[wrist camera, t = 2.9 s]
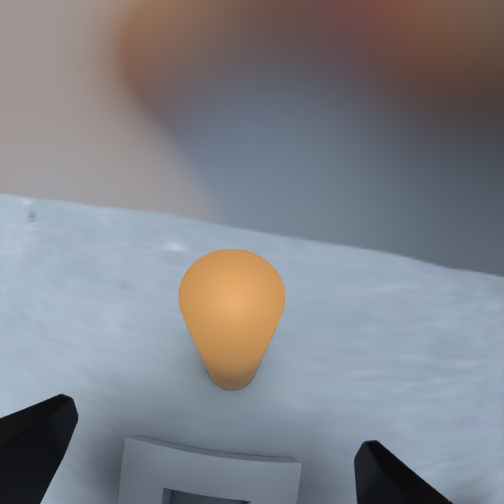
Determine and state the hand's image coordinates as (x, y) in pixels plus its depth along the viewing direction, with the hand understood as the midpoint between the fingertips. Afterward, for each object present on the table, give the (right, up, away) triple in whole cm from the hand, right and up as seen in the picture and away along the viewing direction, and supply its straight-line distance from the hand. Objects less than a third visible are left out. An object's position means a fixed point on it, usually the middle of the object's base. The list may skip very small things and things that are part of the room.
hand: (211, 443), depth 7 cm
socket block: (-2, -11, +6) cm, 13 cm away
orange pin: (0, -2, +12) cm, 12 cm away
